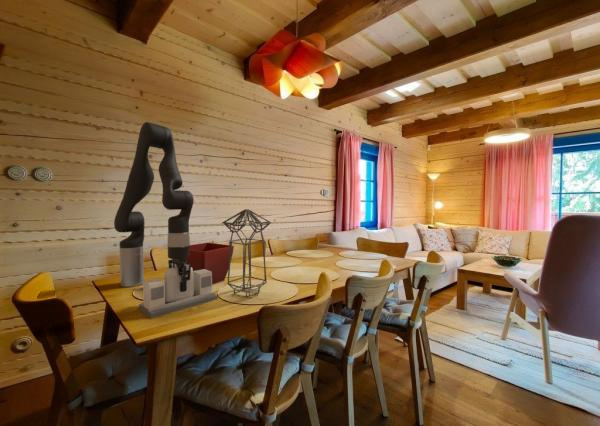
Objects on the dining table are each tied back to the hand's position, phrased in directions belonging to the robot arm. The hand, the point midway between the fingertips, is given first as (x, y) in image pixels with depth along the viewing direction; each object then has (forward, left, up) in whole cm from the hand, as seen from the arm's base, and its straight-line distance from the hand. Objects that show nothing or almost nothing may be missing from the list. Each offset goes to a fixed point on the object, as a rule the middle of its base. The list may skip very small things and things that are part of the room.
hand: (179, 289), depth 104 cm
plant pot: (-19, +21, -6) cm, 29 cm away
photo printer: (0, 0, -4) cm, 4 cm away
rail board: (0, 0, -5) cm, 5 cm away
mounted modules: (0, 0, -4) cm, 4 cm away
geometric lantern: (+9, +24, -6) cm, 26 cm away
